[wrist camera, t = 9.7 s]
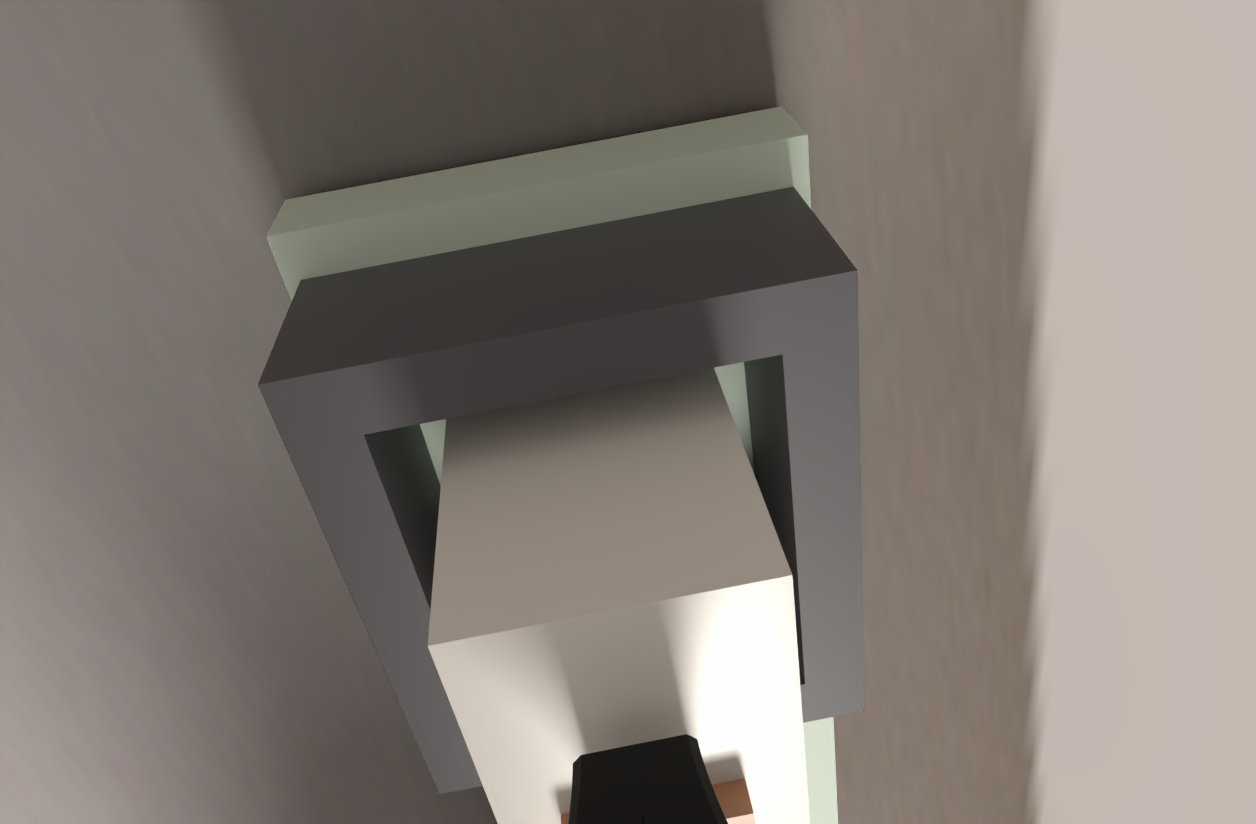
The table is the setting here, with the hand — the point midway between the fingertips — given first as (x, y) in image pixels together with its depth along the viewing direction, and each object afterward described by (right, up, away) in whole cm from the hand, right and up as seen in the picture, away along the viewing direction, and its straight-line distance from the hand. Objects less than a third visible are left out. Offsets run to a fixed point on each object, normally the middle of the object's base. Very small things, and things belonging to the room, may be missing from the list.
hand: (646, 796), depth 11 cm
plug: (-1, +4, +6) cm, 7 cm away
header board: (0, 0, +10) cm, 10 cm away
